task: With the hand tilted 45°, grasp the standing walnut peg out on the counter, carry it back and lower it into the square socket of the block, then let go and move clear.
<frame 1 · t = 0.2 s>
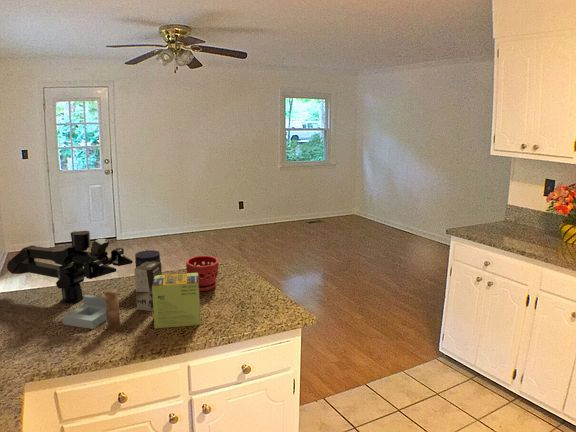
hand: (124, 265, 161), 17 cm above the worktop, tool horizontal, fingers open, 9 cm apart
coffee box: (150, 306, 167), on the worktop
socket block: (90, 319, 156), on the worktop
protein box: (178, 320, 156), on the worktop
plant pot: (203, 287, 185), on the worktop
storage jar: (149, 288, 184), on the worktop
peg: (114, 327, 150), on the worktop
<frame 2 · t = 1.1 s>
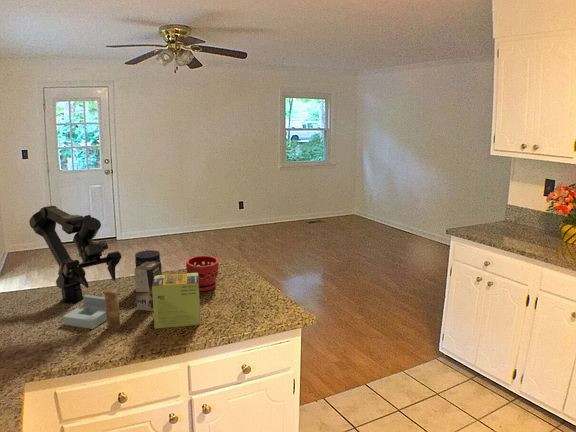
hand: (101, 283, 153), 13 cm above the worktop, tool tilted 45°, fingers open, 9 cm apart
nothing on the worktop moved.
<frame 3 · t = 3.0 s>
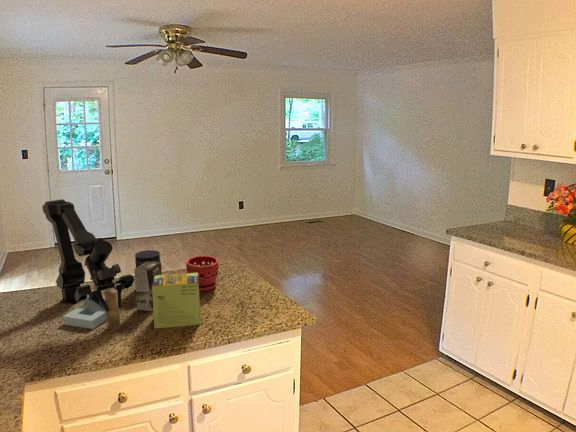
hand: (114, 309, 148), 7 cm above the worktop, tool tilted 45°, fingers closed on peg, 4 cm apart
peg: (114, 327, 150), on the worktop, touching gripper
everything else where it was.
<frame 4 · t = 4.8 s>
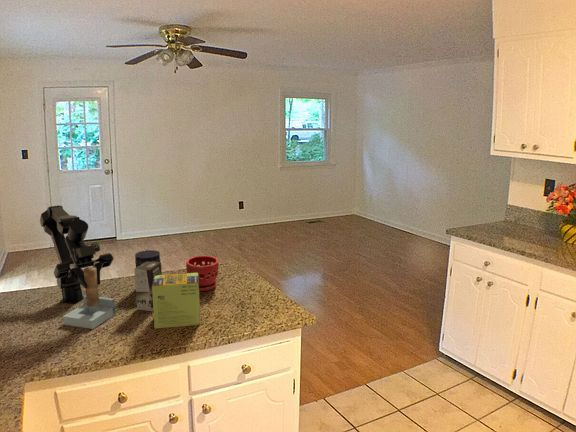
hand: (92, 286, 151), 13 cm above the worktop, tool tilted 45°, fingers closed on peg, 4 cm apart
peg: (93, 304, 154), point 6 cm above the worktop, touching gripper
everything else where it was.
when the fingers open (8 cm above the worktop, at t = 6.5 s): peg drops 1 cm, resting in socket block.
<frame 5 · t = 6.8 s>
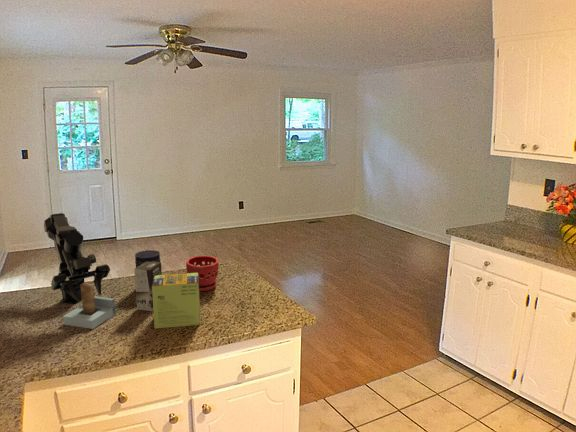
hand: (89, 297, 153), 9 cm above the worktop, tool tilted 45°, fingers open, 7 cm apart
peg: (90, 319, 156), resting in socket block
everything else where it was.
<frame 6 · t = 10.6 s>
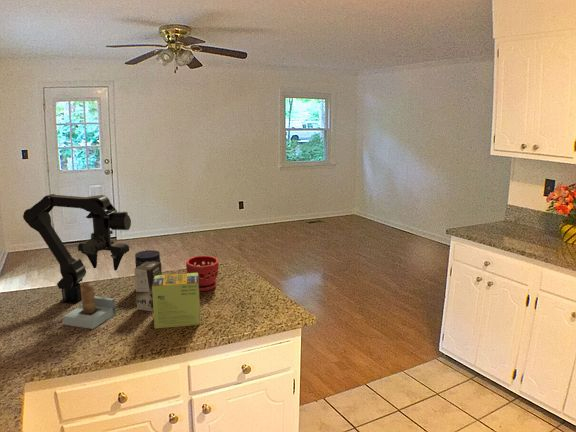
hand: (105, 269, 168), 13 cm above the worktop, tool pointing down, fingers open, 9 cm apart
nothing on the worktop moved.
at the end: peg 0.0 cm off-centre on the socket block, point 0.0 cm above the socket block's base; peg tilted 0°; the gripper is holding nothing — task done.
